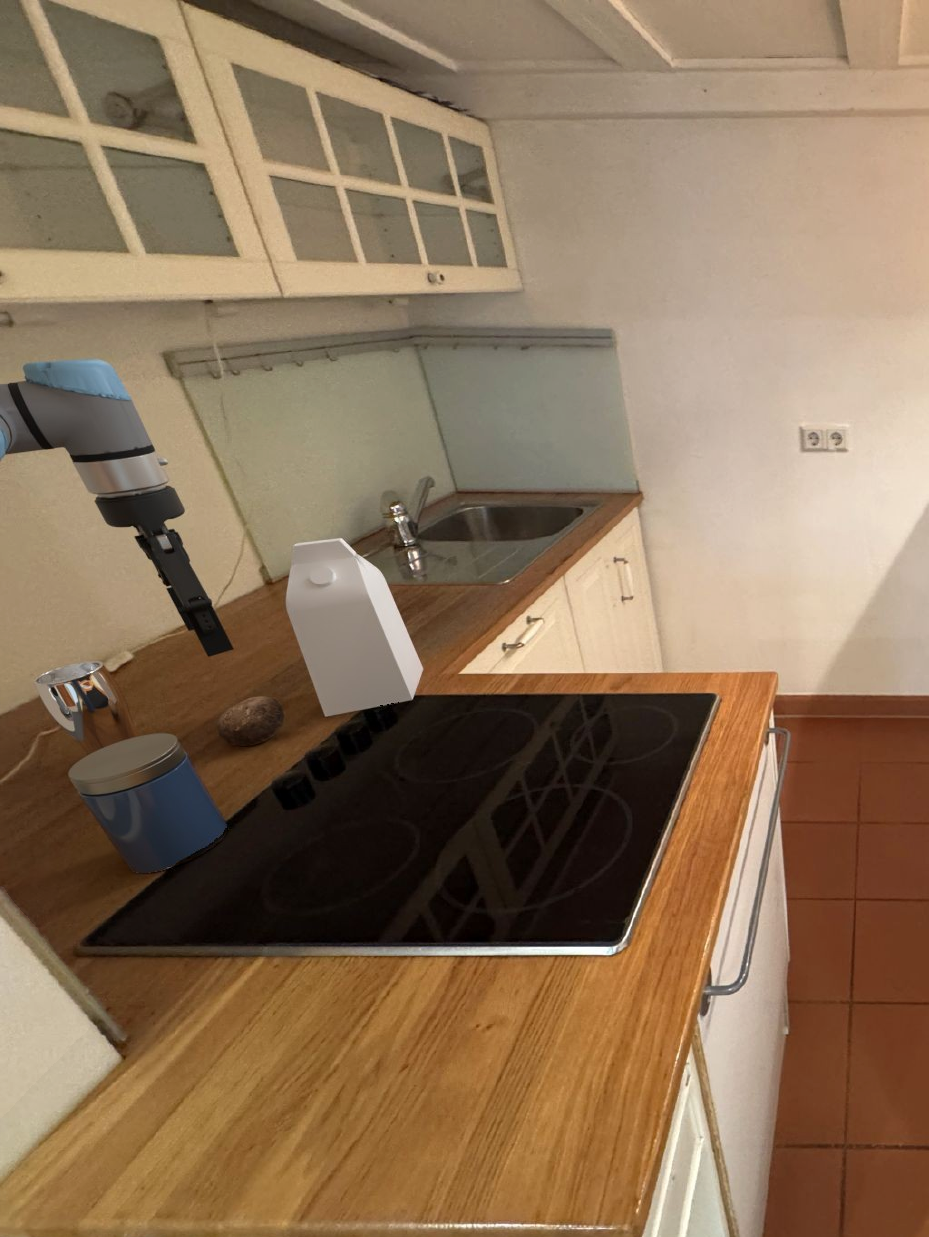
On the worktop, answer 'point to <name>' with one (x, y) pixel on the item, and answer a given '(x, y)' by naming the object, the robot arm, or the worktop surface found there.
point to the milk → (349, 629)
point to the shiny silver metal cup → (87, 704)
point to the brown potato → (251, 721)
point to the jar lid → (126, 764)
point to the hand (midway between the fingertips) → (210, 639)
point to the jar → (159, 818)
